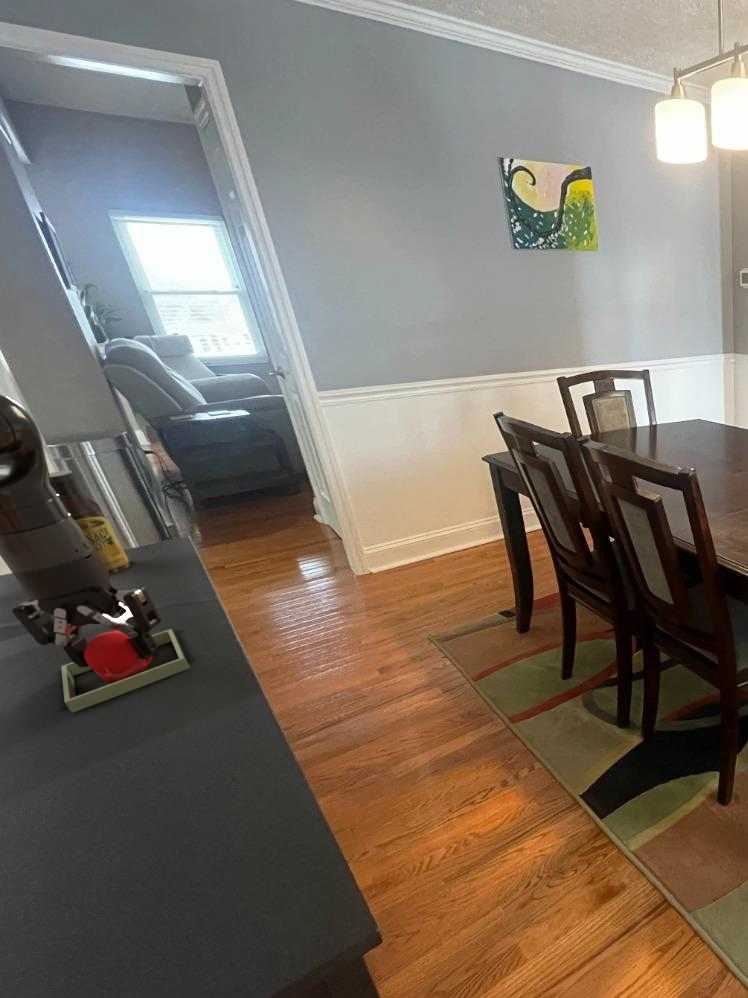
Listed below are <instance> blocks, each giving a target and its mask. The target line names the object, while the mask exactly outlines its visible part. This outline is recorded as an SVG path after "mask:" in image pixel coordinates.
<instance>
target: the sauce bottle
mask: <svg viewBox="0 0 748 998" xmlns="http://www.w3.org/2000/svg"><path fill="white" fill-rule="evenodd" d="M49 477H50V481H51V485H52V487H53V488H54V490H55V491H56V493H57V495H58V496H59V498H60V499H61V501H62V502H63V504H64V506H65V507H66V509H67V511H68V512H69V514H70V515H71V517H72V518H73V519H74V520H75V522H76V523H77V524H78V525H79V526H80V527H81V529H82V530H83V532H84V533H85V535H86V536H87V538H88V540H89V541H90V543H91V544H92V546H93V548H94V549H95V551H96V552H97V554H98V556H99V557H100V559H101V561H102V562H103V564H104V565H105V567H106V569H107V570H108V572H109V576H111V575H113V574H116V573H120V572H122V571H124V570H126V569H127V568H128V567H130V566H131V563H130V560H129V558H128V556H127V554H126V552H125V550H124V549H123V547H122V545H121V543H120V541H119V539H118V538H117V536H116V533H115V531H114V530H113V527H112V526H111V524H110V522H109V520H108V518H107V517H106V516H105V514H104V512H103V510H102V508H101V506H100V505H99V504H98V503H97V502H95V501H94V500H93V499H91V498H89V496H86V495H85V494H84V492H83V491H82V490H81V488H80V486H79V484H78V482H77V479H76V478H77V477H76V475H75V473H74V472H73V471H72V470H61V471H53V472H49Z"/></svg>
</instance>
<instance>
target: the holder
mask: <svg viewBox="0 0 748 998" xmlns="http://www.w3.org/2000/svg"><path fill="white" fill-rule="evenodd" d="M151 636H152V637H153V639H154V641H155V643H156V644H157V645H158V647H160V646H162V645H165V644H167V643H172V645H173V647H174V650H175V652H176V655H177V657H178V659H174V660H172V661H169V662H166V663H164V664H161V665H157V666H156V667H152V668H150V669H148V670H144V671H142V672H138V673H136V674H134V675H132V676H130V677H128V678H125V679H123V680H119V681H114V682H112V683H109V684H107V685H104V686H101V687H99V688H98V687H97V688H95V689H93V690H90V691H88V692H85V693H82V694H79V695H76V694H77V693H76V689H75V688H76V687H75V679H74V676H77V675H80V674H82V673H85V672H88V671H91V670H93V669H92V668H91V667H90V666H88V667H79V666H78V664H75V663H74V662H70V663H66V664H63V665H61V667H60V669H61V678H62V690H63V699H64V700H63V701H64V703H65V705H66V707H67V709H68V710H69V711H70V712H71V713H72V714H74V713H76V712H79V711H82V710H85V709H87V708H90V707H92V706H96V705H97V704H100V703H103V702H105V701H108V700H111V699H112V698H116V697H118V696H121V695H124V694H126V693H129V692H132V691H134V690H136V689H139V688H142V687H144V686H147V685H150V684H153V683H156V682H158V681H160V680H163V679H165V678H168V677H172V676H174V675H176V674H180V673H181V672H184V671H187V670H189V669H191V667H190V664H189V663H188V660H187V658H186V656H185V653H184V652H183V649H182V646H181V644H180V642H179V639H178V638H177V636H176V634H175V632H174V631H173V629H172V628H170V629H166V630H163V631H159V632H157V633H155V634H151Z"/></svg>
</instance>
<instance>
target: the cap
mask: <svg viewBox="0 0 748 998" xmlns="http://www.w3.org/2000/svg"><path fill="white" fill-rule="evenodd" d="M129 638H130V637H128V636H127V635H125V634H123V633H122V632H120V631H118V630H117V629H116V630H113V631H106V632H102V633H100V634H97V635H96V636H94V637H93V638H91V639H90V641H89V642H87V643H88V644H87V646H86V649H85V651H84V659H85V660H86V662H87V664H88V665H89V666H90V667H91V668H92V669H91V670H93V671H94V672H95V674H97V675H98V676H99V677H100V678H101V680H103V681H104V682H112V683H113V682H117V681H120V680H123V679H125V678H128V677H131V676H134V675H136V674H139V673H141V671H143V670H144V669H146V668H147V667H148V665H149V664H150V662H151V661H152V659H153V658H154V655H153V656H152V657H150V658H149V659H140V657H139V655H138V654H137V652H136V651H135V649H134V648H133V646H132V645H131V643H130V641H129V640H128V639H129Z"/></svg>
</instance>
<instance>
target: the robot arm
mask: <svg viewBox="0 0 748 998" xmlns="http://www.w3.org/2000/svg"><path fill="white" fill-rule="evenodd" d="M48 466H49V465H48V462H47V458H46V452H45V448H44V443H43V438H42V435H41V432H40V429H39V427H38V425H37V423H36V421H35V420H34V418H33V417H32V415H31V414H30V413H29V412H28V411H27V410H26V409H25V408H24V407H23V406H22V405H20V404H19V403H18V402H17V401H15V400H13V399H11V398H10V397H8V396H5V395H2V394H0V558H1V559H2V560H3V562H4V563H5V565H6V566H7V567H8V569H9V570H10V572H11V574H13V576H14V577H15V579H16V580H17V581H18V583H19V584H20V586H21V588H22V589H23V590H24V592H25V593H26V594H27V596H28V597H29V599H27V600H25V601H23V602H22V603H20V604H18V605H17V606H15V607H13V608H12V609H11V612H12V614H13V615H14V616H15V617H16V618H17V620H18V621H19V622H20V624H22V626H23V627H24V628H25V629H26V631H27V632H28V633H29V634H30V636H31V637H32V638H33V639H34V641H36V643H37V644H38V645H40V646H47V645H49V644H52V645H56V646H57V647H60V648H62V649H63V650H64V652H65V653H66V654H67V656H68V658H69V659H70V660H71V661H72V662H74V663H75V664H78V666H79V667H88V666H89V665H88V664H87V662H86V660H85V659H84V651H85V649H86V646H87V644H88V643H89V642H88V641H87V639H86V638H85V637H80V636H81V633H82V627H84V626H86V625H103V626H104V627H105V628H108V629H110V630H116V631H117V630H118V631H120V632H122V633H123V634H125V635H127V636H128V637H130V638H129V639H128V640H129V641H130V643H131V645H132V646H133V648H134V649H135V651H136V652H137V654H138V655H139V657H140V659H149V658H150V657H152V656H153V657H154V655H155V654H156V653H157V651H158V649H159V646H158V645H157V644H156V643H155V641H154V639H153V637H152V636H151V635H152V634H151V632H150V631H151V630H153V628H154V627H156V626H157V625H159V624H160V623H161V622H162V618H161V616H160V614H159V612H158V610H157V608H156V606H155V604H154V602H153V600H152V598H151V597H150V594H149V592H148V590H147V588H145V587H144V586H142V585H138V586H136V587H134V588H133V589H124V590H120V589H118V588H117V587H116V586H114V585H113V584H112V583H111V581H110V575H109V572H108V570H107V569H106V567H105V565H104V564H103V562H102V561H101V559H100V557H99V556H98V554H97V552H96V551H95V549H94V548H93V546H92V544H91V543H90V541H89V540H88V538H87V536H86V535H85V533H84V532H83V530H82V529H81V527H80V526H79V525H78V524H77V523H76V522H75V520H74V519H73V518H72V517H71V515H70V514H69V512H68V511H67V509H66V507H65V506H64V504H63V502H62V501H61V499H60V498H59V496H58V495H57V493H56V491H55V490H54V488H53V487H52V485H51V481H50V477H49V473H50V471H49V467H48ZM116 614H118V615H119V617H117V618H114V617H115V615H116ZM52 617H54V618H52ZM43 628H44V629H43ZM72 662H71V663H72Z"/></svg>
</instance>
